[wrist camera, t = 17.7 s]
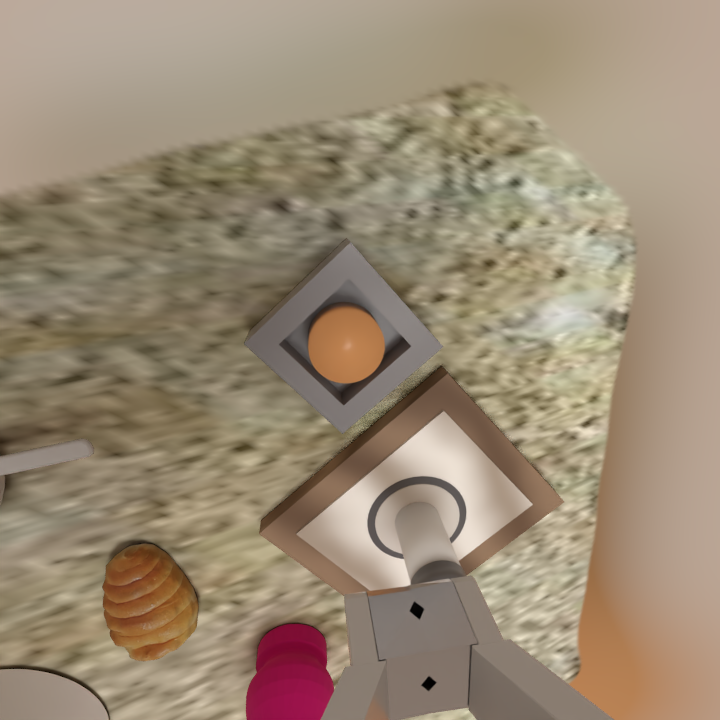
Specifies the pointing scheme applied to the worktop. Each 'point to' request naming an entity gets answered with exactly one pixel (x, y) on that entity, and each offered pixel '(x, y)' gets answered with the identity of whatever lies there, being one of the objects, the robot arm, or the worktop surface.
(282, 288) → the worktop surface
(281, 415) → the worktop surface
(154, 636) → the pastry
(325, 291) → the button base
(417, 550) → the marker
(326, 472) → the board
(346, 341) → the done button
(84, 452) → the small pan
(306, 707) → the pepper mill
